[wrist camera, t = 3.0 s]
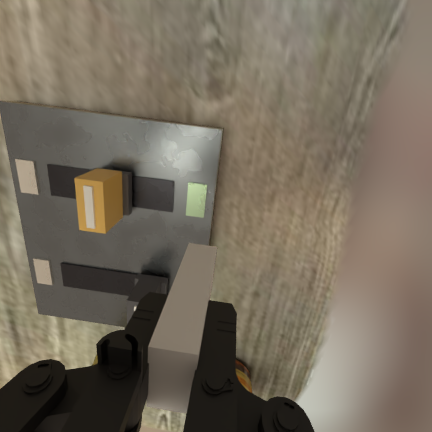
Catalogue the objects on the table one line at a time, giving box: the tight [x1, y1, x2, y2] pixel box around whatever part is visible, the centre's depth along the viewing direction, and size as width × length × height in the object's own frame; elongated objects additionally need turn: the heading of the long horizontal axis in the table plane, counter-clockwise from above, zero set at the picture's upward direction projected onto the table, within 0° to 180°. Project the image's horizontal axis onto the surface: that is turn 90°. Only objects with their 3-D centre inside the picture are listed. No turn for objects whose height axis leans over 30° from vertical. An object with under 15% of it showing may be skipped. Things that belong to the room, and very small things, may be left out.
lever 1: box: [74, 168, 132, 234], centre depth 21 cm, size 4×3×4 cm
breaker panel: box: [0, 101, 224, 327], centre depth 26 cm, size 22×18×2 cm
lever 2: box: [127, 274, 168, 324], centre depth 24 cm, size 4×3×4 cm
